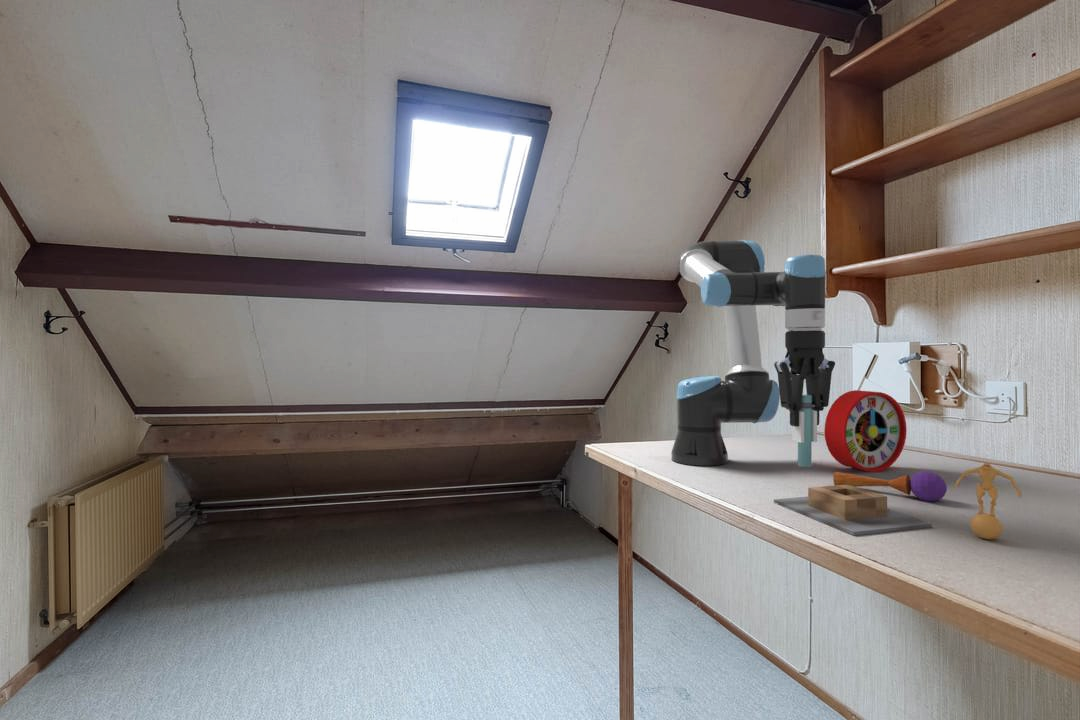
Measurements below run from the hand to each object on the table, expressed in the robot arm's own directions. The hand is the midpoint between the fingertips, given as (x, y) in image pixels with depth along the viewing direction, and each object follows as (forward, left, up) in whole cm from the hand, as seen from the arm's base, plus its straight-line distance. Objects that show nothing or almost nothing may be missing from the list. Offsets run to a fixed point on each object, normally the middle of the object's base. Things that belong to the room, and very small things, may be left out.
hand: (804, 440), depth 112 cm
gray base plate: (+13, -2, -11) cm, 18 cm away
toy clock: (-16, +31, -12) cm, 36 cm away
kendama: (+4, +17, -12) cm, 21 cm away
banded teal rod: (0, 0, -5) cm, 5 cm away
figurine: (+29, +10, -12) cm, 33 cm away
